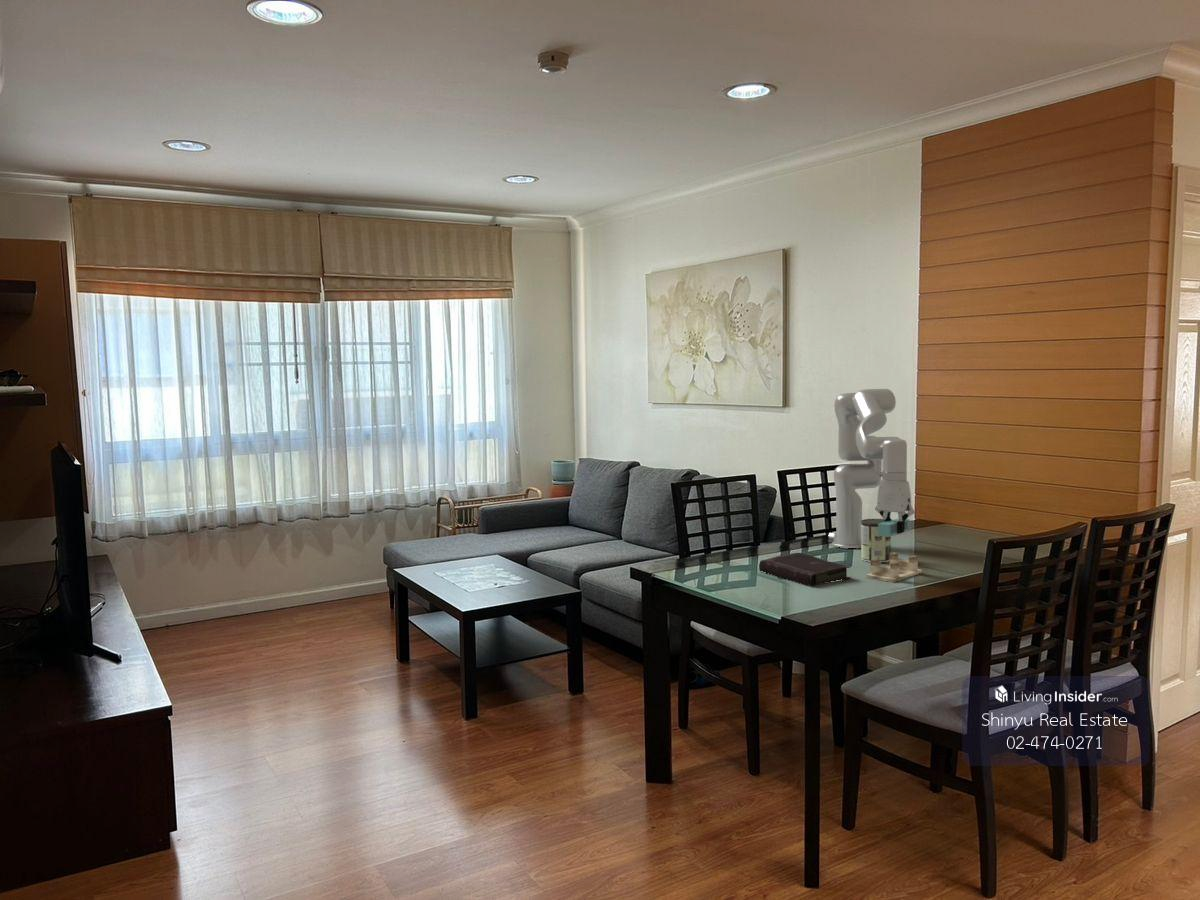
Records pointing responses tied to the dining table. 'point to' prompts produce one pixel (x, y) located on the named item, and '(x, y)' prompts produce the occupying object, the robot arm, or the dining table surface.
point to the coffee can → (874, 542)
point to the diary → (804, 569)
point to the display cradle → (894, 568)
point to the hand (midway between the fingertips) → (894, 531)
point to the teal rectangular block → (891, 528)
